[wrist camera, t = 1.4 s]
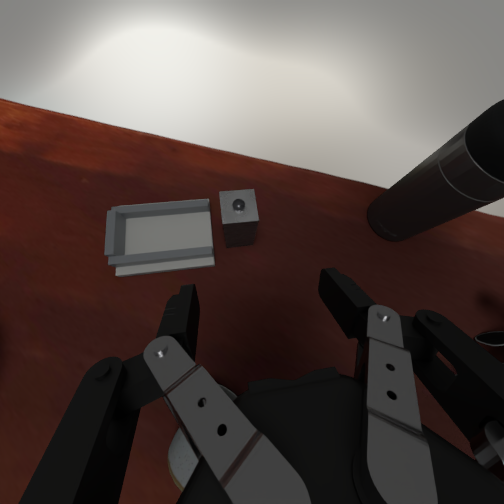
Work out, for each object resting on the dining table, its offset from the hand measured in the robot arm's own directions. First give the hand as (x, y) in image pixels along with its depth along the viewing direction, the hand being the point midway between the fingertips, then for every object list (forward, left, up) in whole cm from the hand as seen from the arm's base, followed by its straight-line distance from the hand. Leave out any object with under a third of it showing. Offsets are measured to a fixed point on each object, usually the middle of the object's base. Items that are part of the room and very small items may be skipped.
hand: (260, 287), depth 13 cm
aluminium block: (-7, -9, -21) cm, 24 cm away
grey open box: (+2, -17, -20) cm, 27 cm away
